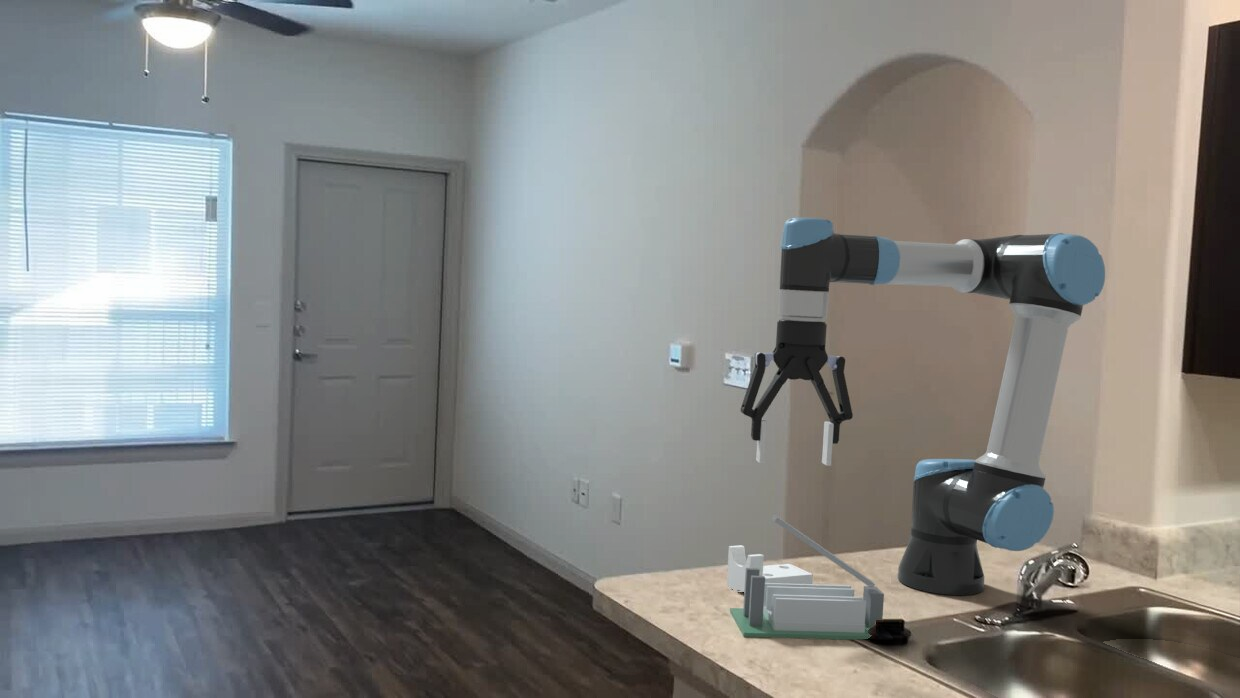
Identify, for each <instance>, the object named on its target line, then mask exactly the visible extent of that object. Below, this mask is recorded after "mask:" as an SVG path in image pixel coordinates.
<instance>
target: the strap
mask: <svg viewBox="0 0 1240 698" xmlns="http://www.w3.org/2000/svg"><path fill="white" fill-rule="evenodd" d="M771 520H772V521H773V522H774V523H775V524H777V525H778V526H780V527H782V528H783V529H784V530H786V531H787V532H789V533H791V534H792V535H794V536H795V537H796V538H797V539H799V540H800V541H801V542H804V543H805V544H807V545H808V546H810V547H811V548H813V549H814V550H816V552H818V553H820V554H821V555H822V556H824V557H825V558H827V559H828V560H830V561H831V562H833V563H834V564H836V565H838V567H840V568H841V569H843V570H844V571H846V572H847V573H849V574H850V575H852V576H853V577H854V578H856V579H858V580H859V581H861V582H862V583H863V584H865V586H869V587H871V588H873V587H874V586H875V585H876V584H875V583H874V582H873V581H872V580H871V579H870V578H868V577H867V576H865V575H864V574H863V573H861V572H860V571H858V570H856V569H855V568H854V567H852V566H850V565H849V564H848V563H846V562H845V561H844V560H842V559H840V558H839V557H837V556H836V555H835V554H833V553H831V552H830V551H829V550H828V549H825V548H824V547H823V546H822V545H820V544H819V543H817V542H816V541H814V540H813V539H811V538H810V537H808V536H807V535H806V534H804V533H803V532H801V531H800V530H798V529H796V528H795V527H794V526H793V525H791V524H789V523H788V522H787V521H785V520H784V519H782V518H781V517H779V516H778V515H776V514H773V515H772V517H771Z"/></svg>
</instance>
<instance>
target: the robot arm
mask: <svg viewBox="0 0 1240 698" xmlns="http://www.w3.org/2000/svg"><path fill="white" fill-rule="evenodd" d="M780 249H781V252H780V253H781V254H780V256H781V257H780V273H779V275H780V276H779V292H778V293H779V294H778V308H777V314H778V316H781V319H778V321H777V323H776V339H775V348H774V349H773V351H772V352H760V351H757V352H755V354H754V368H753V371H752V373H751V377H750V380H749V382H748V385H747V388H746V391H745V395H744V398H743V400H742V404H741V407H740V412H741V413H742V414H743V415H745V416H747V417H749V418H750V419H751V430H750V431H751V432H750V436H751V437H750V438H751V440H753V441H756V453H755V454H756V458H755V460H756V461H757V462H758V463H759V464H765V460H766V459H765V457H766V443H767V442H766V441H767V424H768V421H767V420H765V419H764V416H765V414H766V412H767V411H768V409H769V408H770V406H771V405H772V403H773V401H774V399H775V398H776V397H777V394H778V393H779V391H780V390H781V389H782V387H783V385H784V384H786V383H787V381H788V380H795V381H796V380H800V379H801V380H804V381H810V382H811V384H812V385H813V388H814V389H815V391H816V393H817V396H818V398H819V400H820V402H821V404H822V406H823V409H824V411H825V412H826V414H827V416H828V419H829V421H824V422H823V423H824V424H823V439H822V441H823V442H822V453H821V455H822V457H821V463H822V464H823V465H825V466H828V467H830V466H832V458H833V457H832V455H833V444H836V445H838V443H839V441H840V427H841V424H842V423H843V422H845V421H848V420H849V421H850V420H852V419H853V415H854V414H853V409H852V405H851V402H850V401H851V400H850V396H849V390H848V385H847V380H846V376H845V366H846V358H845V357H844V356H842V355H828V354H827V351H826V340H827V339H826V338H827V328H828V327H827V324H826V322H825V321H824V319H826V318H827V317H828V311H829V309H828V307H829V292H830V291H829V290H830V283H836V284H837V283H840V284H860V285H861V284H863V285H864V284H865V285H871V286H874V285H901V286H930V287H932V286H933V287H951V288H952V289H953V290H955V291H956V292H958V293H963V294H964V293H965V294H966V293H968V294H978V295H984V296H988V297H989V296H990V297H993V298H999V299H1004V300H1009V303H1008V307H1009V309H1010V310H1011V312H1012V313H1013V314H1014V317H1015V320H1014V324H1013V328H1012V333H1011V338H1010V342H1009V346H1008V347H1009V348H1008V352H1007V355H1006V356H1007V357H1006V361H1005V363H1004V364H1005V366H1004V368H1003V369H1004V370H1003V374H1002V378H1001V384H1000V386H999V393H998V397H997V403H996V405H995V412H994V415H993V420H992V425H991V429H990V434H989V437H988V438H989V439H988V442H987V448H986V452H984V454H983V455H981V456H979V457H978V458H975V459H966V458H959V459H958V458H928V459H927V458H926V459H921V460H920V461H918V463H917V464H916V466H915V472H914V477H913V481H912V482H913V488H912V491H913V492H912V508H911V525H910V538H909V541H908V543H907V546H906V548H905V550H904V553H903V556H902V557H901V560H900V562H899V564H898V573H897V580H898V581H899V582H900V583H901V584H904V585H905V586H908V587H910V588H913V589H916V590H919V591H923V592H928V593H931V594H932V593H933V594H934V593H935V594H939V595H952V596H969V595H970V596H971V595H976V594H979V593H982V592H983V591H984V590H985V575H984V569H983V567H982V562H981V559H980V554H979V551H978V544H977V543H978V542H981V543H982V542H983V543H985V544H987V545H990V546H991V547H993V548H996V549H997V548H998V549H1003V550H1007V551H1010V552H1023V551H1026V550H1028V549H1030V548H1033V547H1034V546H1035V544H1037V543H1039V542H1040V541H1042V540H1043V538H1044V537H1045V536H1046V535H1047V534H1048V531H1049V530H1050V528H1051V525H1052V523H1053V519H1054V513H1055V507H1054V503H1053V502H1052V501H1051V500H1052V498H1051V497H1052V496H1051V495H1050V494H1049V492H1048V491H1046V489H1044V488H1045V487H1044V486H1045V482H1046V477H1047V476H1046V474H1045V472H1044V471H1043V470H1042V469H1041V466H1040V460H1041V455H1042V450H1043V445H1044V440H1045V436H1046V431H1047V427H1048V423H1049V420H1050V419H1049V418H1050V414H1051V409H1052V405H1053V400H1054V395H1055V392H1056V391H1055V390H1056V386H1057V382H1058V378H1059V372H1060V370H1061V369H1060V368H1061V365H1062V364H1061V363H1062V360H1063V354H1064V349H1065V346H1066V341H1067V335H1068V331H1069V327H1071V325H1073V324H1075V323H1076V322H1078V321H1079V320H1080V319H1081V318H1082V313H1083V308H1084V305H1085V306H1086V305H1088V304H1090V303H1092V302H1094V300H1096V298H1097V297H1099V296H1100V295H1101V293H1102V290H1103V288H1104V285H1105V280H1106V268H1105V262H1104V259H1103V256H1102V255H1101V254H1100V252H1099V249H1098V246H1096V245H1095V244H1094V243H1093V242H1092V241H1091V240H1090V239H1088V238H1087V237H1085V236H1082V235H1080V234H1079V235H1078V234H1070V233H1069V234H1068V233H1063V232H1057V233H1052V234H1051V233H1050V234H1049V233H1047V234H1046V233H1045V234H1023V235H1022V234H1016V235H1006V236H999V237H997V236H996V237H991V238H989V237H988V238H981V239H973V238H971V239H970V238H969V239H968V238H965V239H960V240H958V241H957V242H956V243H940V242H939V243H938V242H937V243H936V242H920V241H901V240H893V239H892V238H889V237H881V236H878V235H860V234H859V235H857V234H842V233H835V232H834V226H833V222H832V220H830V219H827V218H818V217H817V218H816V217H793V218H792V217H791V218H789V219H787V220H786V221H785V223H784V225H783V231H782V238H781V245H780ZM772 361H773V362H774V363H775V365H776V367H777V368H778V369H777V370H776V372H775V374H774V376H773V379H772V380H771V382H770V384H769V385H768V387H767V388H766V390H765V391H764V392H763V395H762V396H761V398H760V399H759V401H758V403H757V404H756V406H755V407H754V405H755V402H756V399H757V396H758V393H759V391H760V386H761V384H762V381H763V379H764V375H765V373H766V367H769V365H770V363H771V362H772ZM826 363H828V367H829V369H830V370H832V371H831V373H832V379H833V384H834V387H835V388H834V389H835V393H836V398H837V403H838V407H839V411H840V412H839V411H838V409H837V407H836V405H835V402H834V401H833V399H832V396H831V394H830V392H829V390H828V388H827V386H826V385H825V384H826V383H825V381H824V378H823V377H822V374H821V372H820V371H821V370H822V369H823V367H824V366H825V365H826ZM753 408H754V409H753Z"/></svg>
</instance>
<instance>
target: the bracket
mask: <svg viewBox="0 0 1240 698" xmlns="http://www.w3.org/2000/svg"><path fill="white" fill-rule="evenodd" d="M727 555H728V556H727V570H726V572H727V574H726V576H727V577H726V587H727V586H728V587H730V588H732V589H733V590H735V591H737V592H738V591H742V592H744V590H745V573H746V568H759V570H760V571H759V576H764V577H765V583H788V584H813V583H814V582H813V581H814V574H813V573H811V572H810V571H809V572H808V571H807V570H804V569H802V568H800V567H798V566H796V565H793V564H791V563H782V564H771V565H770V564H769V565H764V560H765V559H764V558H765V555H764V554H762V553H755V554H748V555H747V557H746V552H745V546H744V545H740V544H739V545H728V554H727Z"/></svg>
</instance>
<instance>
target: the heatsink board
mask: <svg viewBox="0 0 1240 698" xmlns="http://www.w3.org/2000/svg"><path fill="white" fill-rule="evenodd" d="M759 571H760V570H759V568H746V573H745V590H744V593H743V607H741V608H740V607H737V608H736V607H730V608H729V613H730V615H731V616H732V618H733V620H734V622H735V624H736V626H737V627H738V629H739V631H740V632H741V635H742V636H743V637H744V638H777V639H779V638H781V639H783V638H784V639H815V640H816V639H817V640H819V639H823V640H852V639H868V638H870V637H871V636H872V635H870V634H869V633H868V630H869V629H870V628H872V627H874V625H875V621H876V620H882V621H883V616H884V615H883V613H884V602H885V601H884V600H885V598H884V597H885V593H884V592H882V590H881V589H880V588H878V586H875V585H874V587H873V588H871V587H869V586H868V585H863V591H862V592H863V594H862V596H855V588H852V586H851V585H849V584H819V583H817V584H816V583H815V584H814V583H812V584H788V583H765V577H764V576H759Z"/></svg>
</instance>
